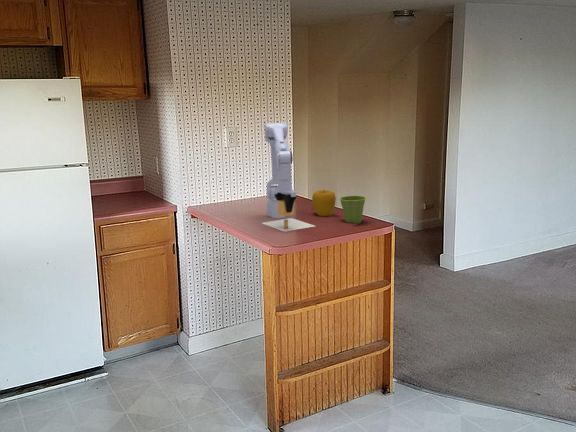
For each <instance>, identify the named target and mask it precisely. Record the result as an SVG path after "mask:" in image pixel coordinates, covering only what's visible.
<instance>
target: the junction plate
mask: <svg viewBox="0 0 576 432" xmlns="http://www.w3.org/2000/svg"><path fill="white" fill-rule="evenodd" d="M261 224H263V225H265V226H267V227H271V228H273V229H276V230H279V231H280V232H291V231H296V230H302V229H307V228H313V227H314V228H315V225H314V224H311V223H308V222H305V221H302V220H299V219H296V218H292V217H290V218H285V219H284V218H282V219H277V220H276V219H275V220H271V221H264V222H261Z"/></svg>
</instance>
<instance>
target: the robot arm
mask: <svg viewBox="0 0 576 432" xmlns="http://www.w3.org/2000/svg"><path fill="white" fill-rule="evenodd" d="M287 137H288V124H287V123H286V122H274V123H273V122H271V123H268V122H266V123H265V124H264V139H265V142H266V143H269V146H270V155H271V156H270V157H271V158H270V159H271V175H272V176H271V179H270V180H269V181H267V182H266V196H267V198H266V199H268V201H267V202H266V213H267V216H269V217H270V218H273V219H284V218H286V217H287V216H282V215H279V214H278V203H277V200H284V201H285V205H286V212H287V213H289V212H292V208H293V204H294V205H295V201H296V199H297V192H296V191H295V190H293V185H292V184H293V181H292V180H293V179H292V164H293V159H294V157H293V152H292V150H291V149H290V148H289V144H288V142H287V141H286V139H287Z"/></svg>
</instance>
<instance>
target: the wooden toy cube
mask: <svg viewBox="0 0 576 432" xmlns="http://www.w3.org/2000/svg"><path fill="white" fill-rule="evenodd" d="M277 203H278V214H279V215H282V216H286V217H288V216H293V215H295V203H294V204H293V208H292V212H289V213H287V212H286V205H285V201H284V200H277Z"/></svg>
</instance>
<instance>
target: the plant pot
mask: <svg viewBox="0 0 576 432" xmlns="http://www.w3.org/2000/svg"><path fill="white" fill-rule="evenodd" d="M366 199H367V197H366V196H364V195H345V196H341V197H339V201H340V204H341V207H342V213H343V218H344V221H345V222H347V223H352V224H356V225H359V224H361V222H362V219H363V212H364V205H365V203H366Z"/></svg>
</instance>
